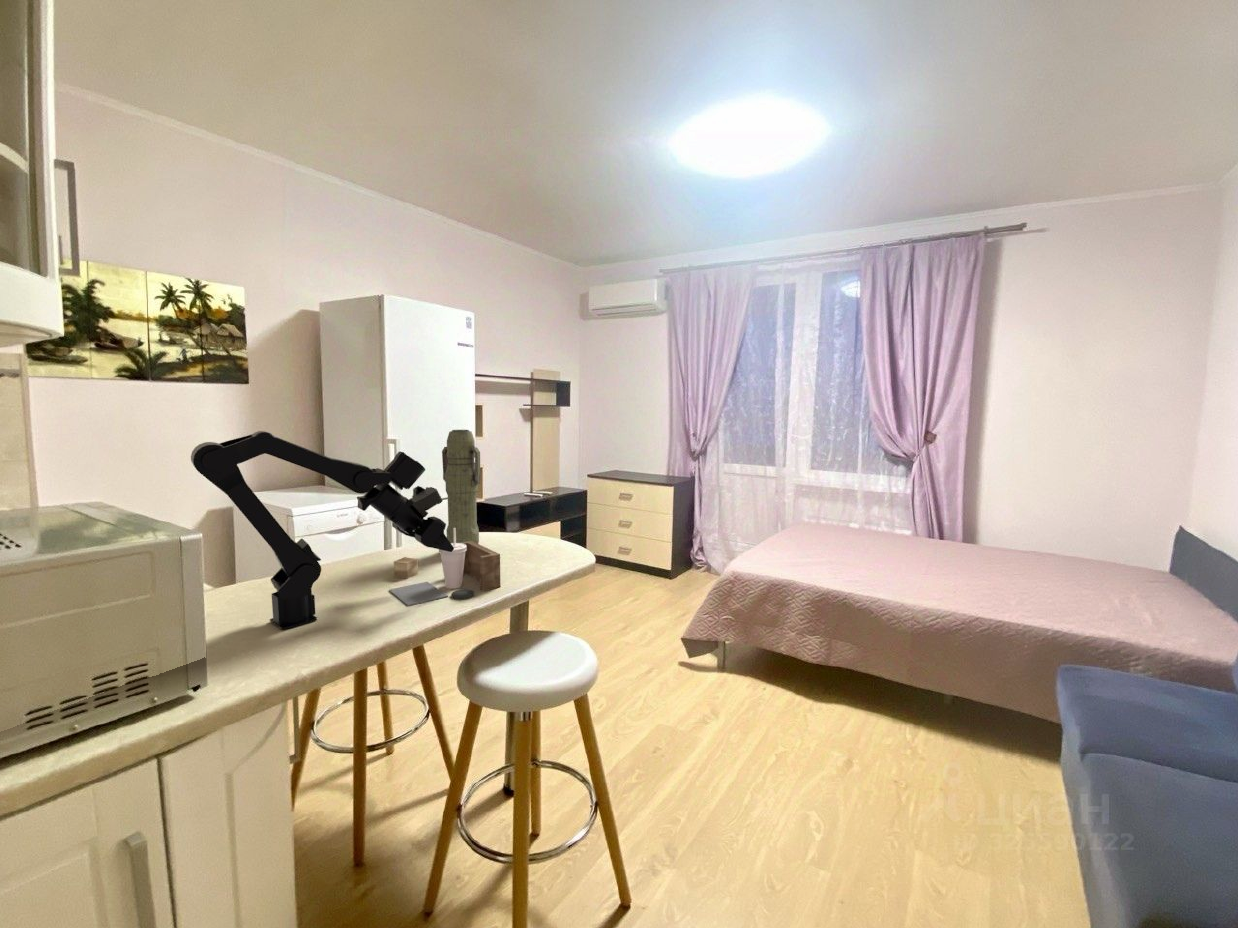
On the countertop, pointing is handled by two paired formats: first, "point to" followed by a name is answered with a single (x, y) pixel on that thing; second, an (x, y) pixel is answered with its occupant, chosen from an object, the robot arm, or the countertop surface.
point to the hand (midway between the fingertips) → (444, 545)
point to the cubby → (482, 565)
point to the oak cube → (405, 567)
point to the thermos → (461, 485)
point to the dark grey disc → (462, 594)
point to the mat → (418, 593)
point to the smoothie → (453, 564)
